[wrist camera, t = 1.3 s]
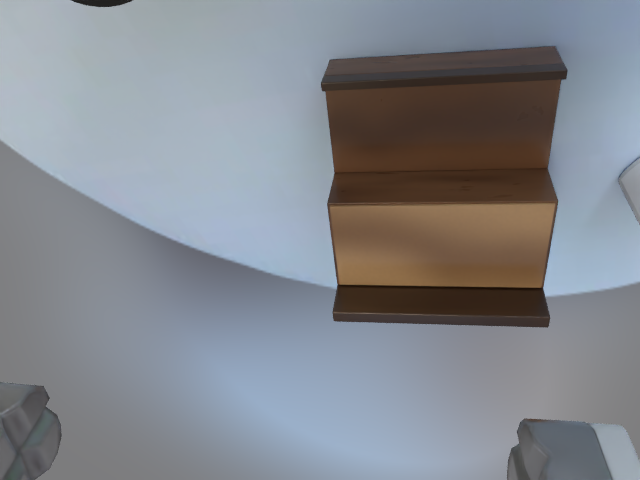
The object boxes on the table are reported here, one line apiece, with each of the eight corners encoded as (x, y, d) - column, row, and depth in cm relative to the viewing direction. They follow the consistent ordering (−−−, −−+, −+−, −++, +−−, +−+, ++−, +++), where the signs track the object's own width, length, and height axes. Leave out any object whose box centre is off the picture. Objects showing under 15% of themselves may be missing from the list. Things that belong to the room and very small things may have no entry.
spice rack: (329, 59, 39) (305, 123, 31) (555, 45, 36) (590, 112, 29) (348, 238, 49) (333, 321, 41) (528, 239, 46) (548, 328, 38)
